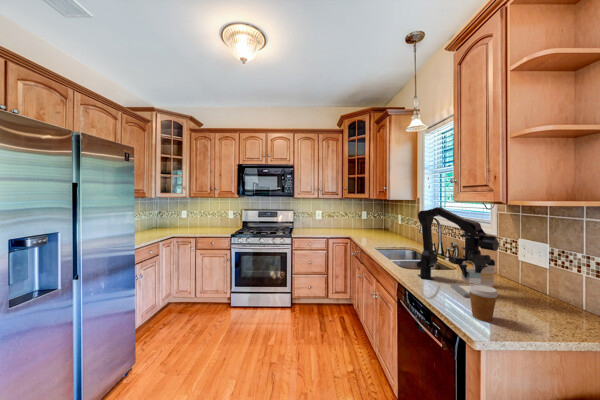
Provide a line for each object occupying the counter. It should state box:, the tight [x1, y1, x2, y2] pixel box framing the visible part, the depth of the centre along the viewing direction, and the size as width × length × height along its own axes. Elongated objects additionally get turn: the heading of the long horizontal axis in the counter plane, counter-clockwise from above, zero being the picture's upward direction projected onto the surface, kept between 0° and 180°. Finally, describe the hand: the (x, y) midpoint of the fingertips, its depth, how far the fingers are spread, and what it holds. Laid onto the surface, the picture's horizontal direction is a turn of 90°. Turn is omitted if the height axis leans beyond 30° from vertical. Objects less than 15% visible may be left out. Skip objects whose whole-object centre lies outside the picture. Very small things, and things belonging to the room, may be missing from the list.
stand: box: [450, 283, 470, 298], centre depth 120 cm, size 13×13×2 cm
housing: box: [461, 268, 481, 284], centre depth 120 cm, size 5×7×5 cm
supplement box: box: [472, 263, 495, 288], centre depth 129 cm, size 8×5×13 cm, turn 84°
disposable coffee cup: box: [468, 283, 499, 322], centre depth 95 cm, size 10×10×12 cm
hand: (470, 277), depth 120 cm, fingers closed on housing, 5 cm apart
